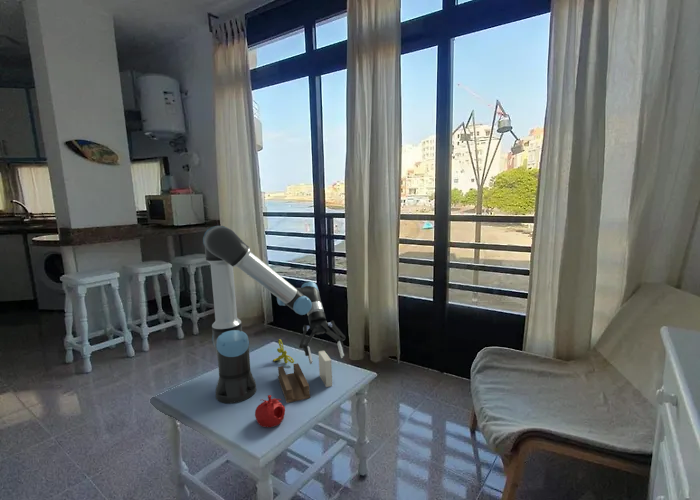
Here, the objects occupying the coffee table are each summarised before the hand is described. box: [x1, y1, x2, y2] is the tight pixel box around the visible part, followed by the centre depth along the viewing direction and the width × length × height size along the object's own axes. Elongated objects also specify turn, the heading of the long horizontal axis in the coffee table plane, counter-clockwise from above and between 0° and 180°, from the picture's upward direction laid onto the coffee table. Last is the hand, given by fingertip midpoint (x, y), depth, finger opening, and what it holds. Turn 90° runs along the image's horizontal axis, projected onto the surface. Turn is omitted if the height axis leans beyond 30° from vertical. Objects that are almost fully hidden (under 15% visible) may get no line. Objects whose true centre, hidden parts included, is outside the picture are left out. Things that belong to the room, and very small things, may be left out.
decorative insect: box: [272, 338, 295, 364], centre depth 162 cm, size 13×3×10 cm
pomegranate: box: [254, 394, 286, 428], centre depth 117 cm, size 10×10×9 cm
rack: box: [277, 362, 311, 404], centre depth 139 cm, size 9×20×5 cm, turn 20°
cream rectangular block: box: [318, 350, 333, 388], centre depth 143 cm, size 2×10×11 cm, turn 21°
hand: (327, 359), depth 144 cm, fingers open, 13 cm apart
